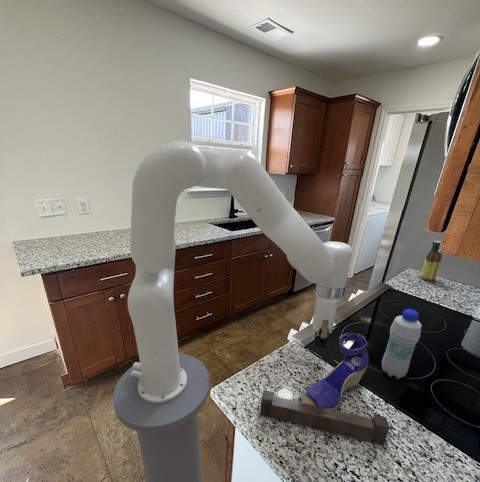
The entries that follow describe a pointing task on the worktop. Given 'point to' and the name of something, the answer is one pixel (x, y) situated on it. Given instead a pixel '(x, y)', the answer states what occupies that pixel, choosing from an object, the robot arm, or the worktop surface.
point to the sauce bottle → (432, 263)
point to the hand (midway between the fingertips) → (319, 345)
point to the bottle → (401, 343)
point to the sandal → (340, 374)
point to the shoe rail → (325, 418)
